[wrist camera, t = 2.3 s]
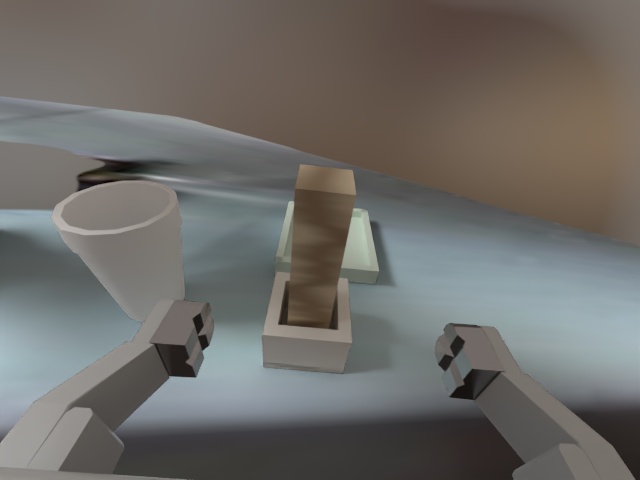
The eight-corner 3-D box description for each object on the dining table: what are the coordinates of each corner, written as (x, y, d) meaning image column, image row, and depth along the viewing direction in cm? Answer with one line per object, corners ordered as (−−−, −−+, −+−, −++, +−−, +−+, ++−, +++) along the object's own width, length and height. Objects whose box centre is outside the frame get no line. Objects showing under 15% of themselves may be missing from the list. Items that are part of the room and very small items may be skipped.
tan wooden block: (286, 345, 29) (295, 188, 18) (290, 313, 32) (300, 164, 21) (324, 348, 29) (356, 195, 18) (325, 316, 32) (352, 170, 21)
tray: (274, 274, 38) (274, 260, 37) (288, 213, 51) (289, 201, 49) (375, 284, 39) (379, 271, 37) (364, 221, 51) (367, 209, 50)
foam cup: (214, 298, 34) (197, 206, 26) (134, 351, 28) (80, 251, 20) (171, 261, 38) (145, 172, 30) (93, 300, 32) (35, 201, 24)
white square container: (263, 366, 28) (262, 334, 24) (275, 303, 34) (276, 271, 31) (342, 373, 28) (352, 343, 25) (340, 310, 34) (347, 278, 31)
